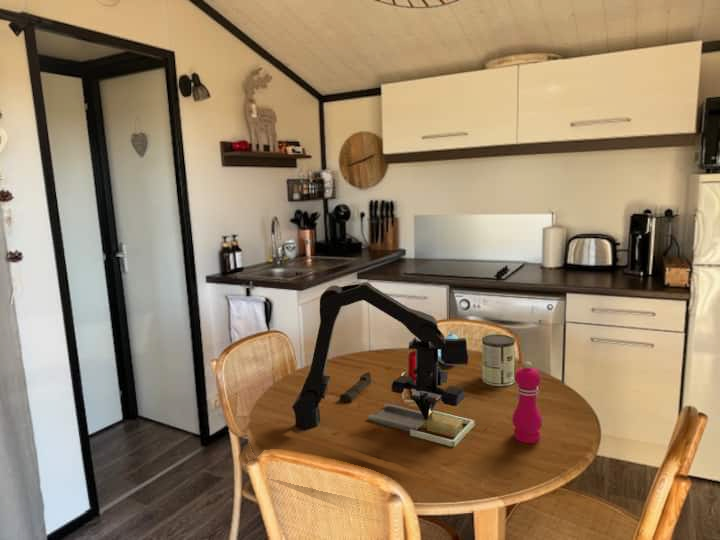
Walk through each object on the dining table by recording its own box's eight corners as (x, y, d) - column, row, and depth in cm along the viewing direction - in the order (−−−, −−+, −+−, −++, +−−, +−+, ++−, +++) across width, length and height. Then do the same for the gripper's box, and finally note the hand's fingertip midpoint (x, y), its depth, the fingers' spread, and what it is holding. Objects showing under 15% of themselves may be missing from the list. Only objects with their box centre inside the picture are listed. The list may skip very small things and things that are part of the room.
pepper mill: (538, 447, 126) (539, 369, 123) (508, 440, 130) (509, 364, 126) (544, 434, 132) (546, 359, 129) (516, 428, 136) (517, 355, 132)
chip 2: (455, 440, 130) (455, 426, 129) (441, 437, 132) (441, 422, 131) (462, 434, 133) (462, 419, 132) (447, 430, 135) (447, 416, 135)
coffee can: (487, 372, 175) (487, 332, 173) (518, 377, 170) (518, 336, 167) (477, 383, 167) (477, 341, 164) (509, 388, 161) (509, 345, 159)
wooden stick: (351, 408, 152) (350, 393, 152) (339, 405, 154) (338, 391, 153) (378, 385, 169) (378, 371, 168) (367, 383, 171) (367, 369, 170)
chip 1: (441, 437, 132) (441, 422, 131) (427, 433, 134) (427, 418, 134) (447, 430, 135) (447, 416, 135) (434, 427, 138) (433, 412, 137)
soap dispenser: (457, 370, 178) (457, 345, 177) (428, 367, 182) (427, 343, 181) (467, 354, 195) (467, 331, 193) (440, 351, 199) (440, 329, 197)
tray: (454, 451, 125) (453, 441, 125) (410, 439, 132) (410, 430, 132) (474, 429, 136) (474, 420, 136) (433, 419, 143) (433, 410, 142)
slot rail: (413, 436, 133) (413, 428, 133) (368, 424, 141) (367, 416, 141) (430, 421, 141) (430, 413, 141) (386, 410, 149) (386, 402, 149)
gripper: (473, 360, 135) (472, 416, 138) (409, 349, 145) (410, 401, 148) (455, 374, 126) (455, 434, 128) (389, 361, 136) (390, 417, 139)
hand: (427, 420), depth 136 cm, fingers closed
